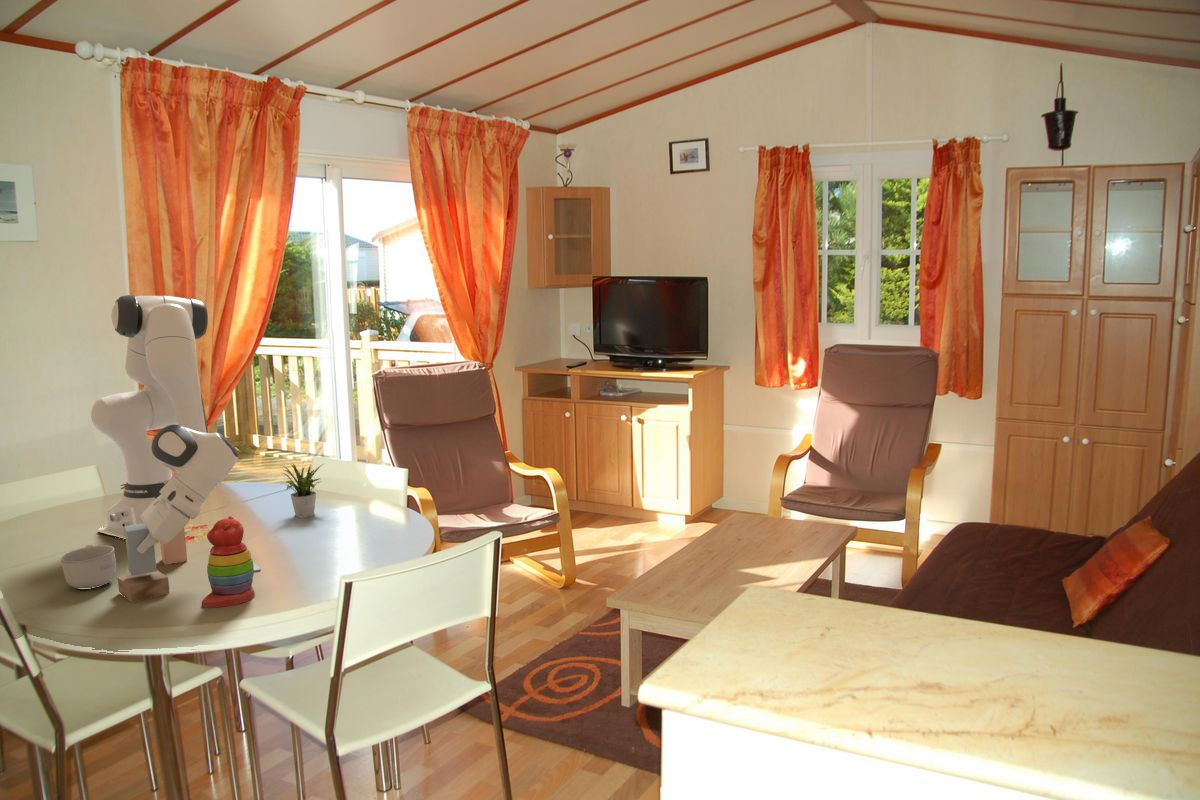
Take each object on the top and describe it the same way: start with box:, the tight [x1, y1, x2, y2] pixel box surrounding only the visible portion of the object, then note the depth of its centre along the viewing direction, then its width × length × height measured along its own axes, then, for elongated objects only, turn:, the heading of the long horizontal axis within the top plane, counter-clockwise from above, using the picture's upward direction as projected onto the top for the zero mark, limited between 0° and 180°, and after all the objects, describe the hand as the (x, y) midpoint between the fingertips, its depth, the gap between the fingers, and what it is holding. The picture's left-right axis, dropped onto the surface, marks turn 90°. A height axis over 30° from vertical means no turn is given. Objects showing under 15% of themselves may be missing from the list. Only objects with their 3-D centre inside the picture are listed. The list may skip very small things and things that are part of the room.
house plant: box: [280, 459, 325, 518], centre depth 268 cm, size 14×14×16 cm
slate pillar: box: [124, 523, 157, 576], centre depth 205 cm, size 5×5×10 cm
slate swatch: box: [253, 562, 261, 573], centre depth 221 cm, size 6×6×1 cm
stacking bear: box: [201, 516, 256, 608], centre depth 201 cm, size 11×10×18 cm
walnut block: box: [117, 569, 170, 603], centre depth 206 cm, size 8×8×4 cm
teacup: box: [60, 544, 117, 589], centre depth 213 cm, size 14×11×8 cm
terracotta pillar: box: [159, 527, 188, 565], centre depth 229 cm, size 5×5×10 cm
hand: (136, 547), depth 205 cm, fingers closed on slate pillar, 5 cm apart
